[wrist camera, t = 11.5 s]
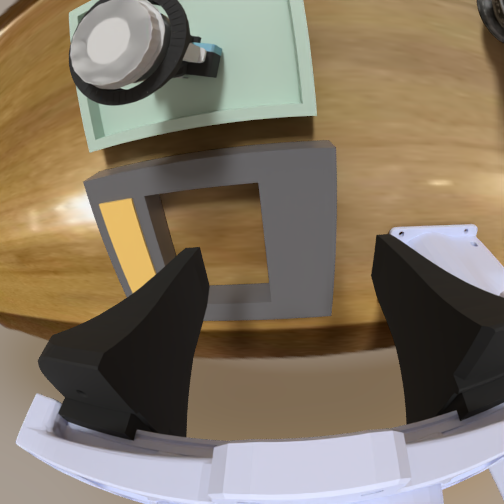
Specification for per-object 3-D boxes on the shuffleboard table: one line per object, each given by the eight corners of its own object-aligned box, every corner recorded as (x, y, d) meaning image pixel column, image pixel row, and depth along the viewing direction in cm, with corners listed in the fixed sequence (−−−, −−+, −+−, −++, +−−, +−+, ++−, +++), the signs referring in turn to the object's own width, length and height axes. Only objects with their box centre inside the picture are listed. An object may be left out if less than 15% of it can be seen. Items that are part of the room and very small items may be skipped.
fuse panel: (328, 140, 18) (336, 148, 16) (327, 296, 26) (331, 317, 23) (99, 171, 21) (81, 182, 18) (145, 302, 28) (136, 320, 26)
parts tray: (291, -38, 11) (293, -49, 9) (312, 112, 17) (316, 115, 16) (83, 15, 13) (68, 12, 11) (103, 146, 19) (89, 152, 18)
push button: (128, 91, 17) (29, 111, 8) (140, 23, 14) (45, -2, 5) (218, 99, 17) (163, 112, 8) (233, 26, 14) (192, -28, 6)
